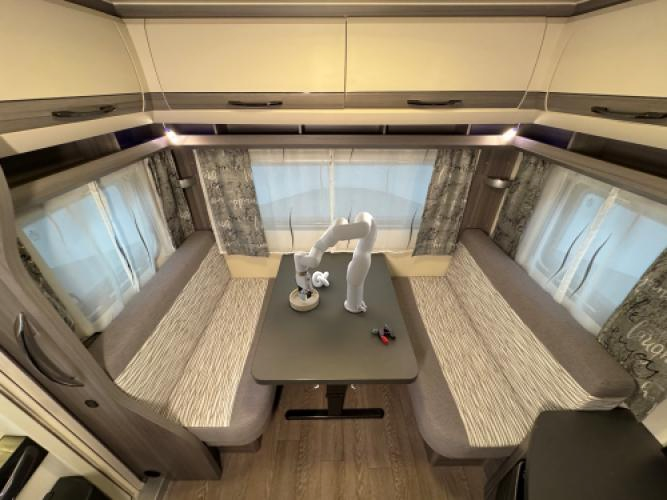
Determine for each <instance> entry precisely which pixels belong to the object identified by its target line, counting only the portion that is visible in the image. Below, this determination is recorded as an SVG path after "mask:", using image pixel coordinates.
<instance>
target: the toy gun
mask: <svg viewBox="0 0 667 500" xmlns="http://www.w3.org/2000/svg"><path fill="white" fill-rule="evenodd" d="M371 333H372V334H373V335H377V334H378V336H379V339H381V340H382V342H383V343H384V344H387V345H388V344H389V342H390V341H389V340H388V339H387V337H389V338H390V339H391V340H396V335H395V333H394V331H393V328H391V327H389V326H388V325H387V324H386V323H384V325H383V327H379V328H373V329H372V330H371Z"/></svg>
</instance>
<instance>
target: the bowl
mask: <svg viewBox="0 0 667 500" xmlns="http://www.w3.org/2000/svg"><path fill="white" fill-rule="evenodd" d="M308 288H309V287H308ZM313 289H314V290H313V293H312V294H311V295H312V296H311V297H310V298H309V299H307V294H306V295H305V299H306V300H305V301H303V300H302V299H301V298H300V297H299V296H298V293H299V292H298V288H296V289H294V290H293V291H292V292H291V293H290V294H289V305H290V306H291V308H292V309H294V310H295V311H299V312H307V311H311V310H313V309H315V308H316V307H317V306H318V305H319V302H320V295H319V294H320V293H319V292H318V291H317V289H315V288H313Z"/></svg>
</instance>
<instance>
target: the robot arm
mask: <svg viewBox="0 0 667 500" xmlns="http://www.w3.org/2000/svg"><path fill="white" fill-rule="evenodd" d="M377 236H378V226H377V223H376V220H375V218H374V217H373V216H372V215H371V214H370V213H369V212H367V211H360V212H359V213H357V215H356V216H355V218H354V221H353V222H352V223H351V222H350V223H349V221H348V220H347V219H346V218H345V217H342V216H339V217H337V218H335V219H334V220H333V221H332V222H331V224H330V225H329V226H328V228H327V229H326V231H324V233H323V234H322V236H321V237H320V238H319V239H318V240H317V241H316V242H315V243H314V244H313V246H312V247H311V248H310V250H309V253H307V251H305V250H298V251H295V252H294V254H293V260H294V267H295V279H294V281H295V283H296V287H297V289H298V292H300V291H301V290H302V289H305V290H306V292H307V299H309V298H310V297H311V296H312V295H311V292H312V291H313V290H314V289H315V288H314V287H313V282H312V277H311V276H312V275H311V273H310V268H312V269H315V268H318V267H319V266H320V263H321V261H322V259H323V255H324V254H325V253H326V251H327V250H328V249H329V248H334V247H335V246H336V245H337V244H338V242H345V241H351V240H352V241H353V240H358V241H357V242H356V246H355V248H354V251H353V254H352V260H350V262H349V263H348V265H347V270H346V278H345V279H346V283H347V285H346V299H345V300H344V304H343V306H344V309H345V310H346V311H348V312H350V313H360V312H364V313H366V312H367V308H368V306H367V305H366V303H365V301H364V286H365V280H366V278H367V276H368V273H369V271H370V267H371V263H372V251H373V250H374V249H373V248H374V246H375V243H376V239H377ZM308 287H309V288H308ZM308 289H309V290H310V291H309V292H308Z"/></svg>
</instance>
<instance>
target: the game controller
mask: <svg viewBox="0 0 667 500" xmlns="http://www.w3.org/2000/svg"><path fill="white" fill-rule="evenodd" d="M309 291H310V290H309V289H308V292H309ZM312 293H313V291H312V292H311V294H312ZM306 294H307V292H306V290H305V289H302V290H301V291H300V292H299V293H298V296H299V297H300V298H301V299H302V300H303V301H305V300H306V299H305V295H306Z"/></svg>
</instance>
